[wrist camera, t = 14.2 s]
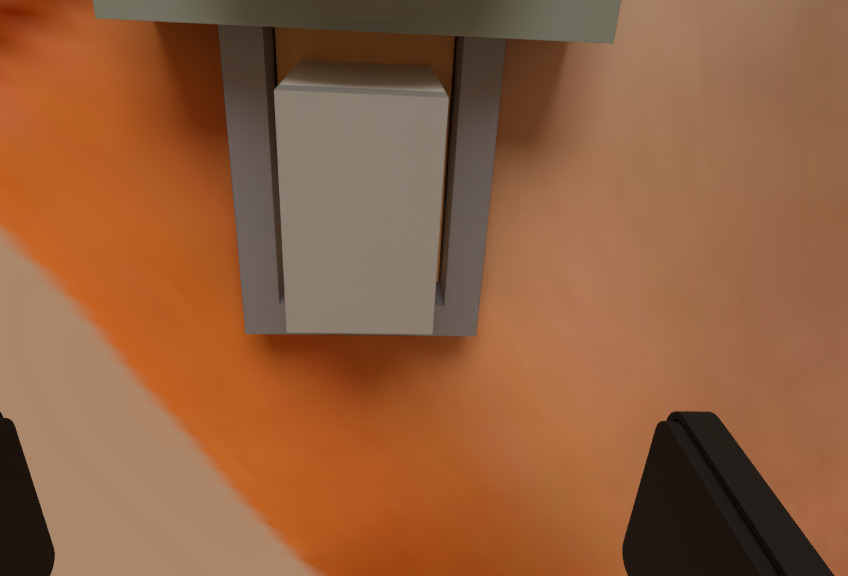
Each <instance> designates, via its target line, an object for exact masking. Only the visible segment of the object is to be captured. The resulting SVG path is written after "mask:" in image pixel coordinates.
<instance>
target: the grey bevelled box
mask: <svg viewBox="0 0 848 576" xmlns="http://www.w3.org/2000/svg"><path fill="white" fill-rule="evenodd" d="M274 101H275V120H276V139H277V158H278V177H279V196H280V215H281V234H282V253H283V272H284V291H285V310H286V329H287V333H356V334H430V335H432V333H433V319H434V305H435V290H436V276H437V261H438V247H439V232H440V218H441V203H442V189H443V174H444V160H445V146H446V131H447V117H448V102H449V97H448V96H447V94H446V92H445V90H444V88H443V86H442V85H441V83H440V81H439V79H438V77H437V76H436V74H435V72H434V70H433V68H432V66H423V65H402V64H382V63H361V62H340V61H319V60H301V61H300V62H299V63H298V64H297V65H296V66H295V67H294V69H293V70H292V71H291V72H290V73H289V74H288V75H287V76H286V77H285V79H284V80H283V81H282V82H281V83H280V84H279V85H278V86H277V87H276V88H275V90H274Z"/></svg>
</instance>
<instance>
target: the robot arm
mask: <svg viewBox="0 0 848 576" xmlns="http://www.w3.org/2000/svg"><path fill="white" fill-rule="evenodd" d="M622 553H623V561H624V566H625V569H626V572H627V574H628V576H834V575H833V573H832V572H831V570H830V569H829V568H828V566H827V565H826V564H825V562H824V561H823V560H822V558H821V557H820V555H819V554H818V553H817V551H816V550H815V549H814V547H813V546H812V545H811V543H810V542H809V540H808V539H807V538H806V536H805V535H804V534H803V532H802V531H801V529H800V528H799V527H798V525H797V524H796V523H795V521H794V520H793V519H792V517H791V516H790V514H789V513H788V512H787V510H786V509H785V508H784V506H783V505H782V504H781V502H780V501H779V499H778V498H777V497H776V495H775V494H774V493H773V491H772V490H771V489H770V487H769V486H768V484H767V483H766V482H765V480H764V479H763V478H762V476H761V475H760V474H759V472H758V471H757V469H756V468H755V467H754V465H753V464H752V463H751V461H750V460H749V458H748V457H747V456H746V454H745V453H744V452H743V450H742V449H741V448H740V446H739V445H738V443H737V442H736V441H735V439H734V438H733V437H732V435H731V434H730V433H729V431H728V430H727V428H726V427H725V426H724V424H723V423H722V422H721V420H720V419H719V418H718V417H717V416H716V415H715V414H714V413H712V412H672V413H671V414H670V415H669V416H668V418H667V421H661V422H659V423H658V424H657V427H656V429H655V433H654V436H653V440H652V443H651V447H650V450H649V454H648V457H647V461H646V464H645V468H644V471H643V475H642V478H641V482H640V485H639V489H638V493H637V496H636V500H635V503H634V507H633V510H632V514H631V517H630V521H629V524H628V528H627V531H626V535H625V538H624V542H623V552H622ZM54 556H55V552H54V547H53V544H52V541H51V538H50V534H49V531H48V528H47V525H46V522H45V519H44V516H43V513H42V509H41V506H40V503H39V500H38V497H37V494H36V491H35V488H34V484H33V481H32V478H31V475H30V472H29V469H28V466H27V462H26V460H25V456H24V453H23V450H22V447H21V444H20V441H19V437H18V435H17V431H16V428H15V426H14V423H13V422H12V421H11V420H10V419H7V418H3V416H2V414H1V412H0V576H50V574H51V572H52V569H53V565H54V558H55V557H54Z"/></svg>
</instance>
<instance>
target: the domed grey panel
mask: <svg viewBox="0 0 848 576" xmlns="http://www.w3.org/2000/svg"><path fill="white" fill-rule="evenodd" d="M620 3H621V0H93V5H94V11H95V17H96V18H99V19H120V20H140V21H161V22H181V23H201V24H218V33H219V44H220V55H221V66H222V77H223V88H224V99H225V110H226V121H227V132H228V143H229V154H230V166H231V177H232V188H233V199H234V210H235V221H236V232H237V243H238V254H239V265H240V276H241V287H242V298H243V309H244V321H245V332H246V334H303V335H396V336H476V331H477V321H478V311H479V302H480V292H481V282H482V272H483V262H484V253H485V243H486V233H487V223H488V214H489V204H490V194H491V184H492V174H493V165H494V155H495V145H496V135H497V126H498V116H499V106H500V96H501V87H502V77H503V67H504V57H505V47H506V38H507V39H528V40H548V41H568V42H589V43H609V44H613V43H614V37H615V31H616V26H617V20H618V14H619V8H620ZM274 27H275V40H276V59H277V78H278V85H279V84H280V83H281V82H282V81H283V80H284V79H285V77H286V76H287V75H288V74H289V73H290V72H291V71H292V70H293V69H294V67H295V66H296V65H297V64H298V63H299V62H300V61H301V60H319V61H340V62H361V63H382V64H402V65H423V66H432V68H433V70H434V72H435V74H436V76H437V77H438V79H439V81H440V83H441V85H442V86H443V88H444V90H445V92H446V94H447V96H448V97H449V102H448V117H447V131H446V146H445V160H444V174H443V189H442V203H441V218H440V232H439V247H438V261H437V276H436V290H435V305H434V319H433V333H432V335H430V334H356V333H287V329H286V310H285V291H284V272H283V253H282V234H281V215H280V196H279V177H278V158H277V139H276V120H275V101H274V90H275V88H276V87H277V78H276V59H275V41H274ZM455 36H456V48H455V62H454V77H453V91H452V106H451V120H450V135H449V150H448V164H447V179H446V193H445V208H444V222H443V237H442V252H441V266H440V281H439V280H438V278H439V263H440V249H441V234H442V219H443V204H444V190H445V175H446V160H447V145H448V130H449V116H450V101H451V86H452V71H453V57H454V42H455Z"/></svg>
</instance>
